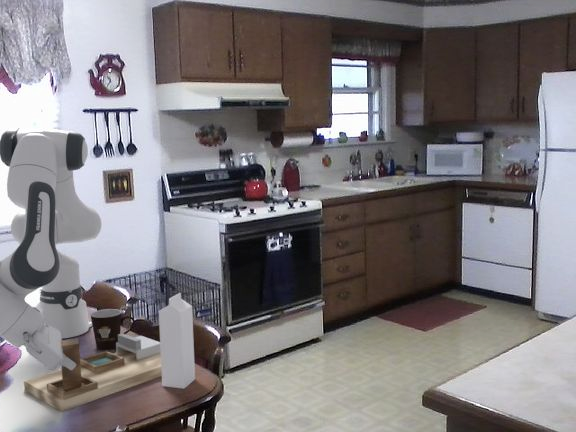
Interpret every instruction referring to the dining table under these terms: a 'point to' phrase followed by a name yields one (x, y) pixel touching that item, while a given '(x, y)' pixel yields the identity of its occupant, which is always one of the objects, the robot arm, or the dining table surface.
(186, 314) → the milk
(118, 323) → the coffee mug
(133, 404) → the dining table surface
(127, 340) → the cover
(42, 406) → the dining table surface
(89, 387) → the board
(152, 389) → the dining table surface
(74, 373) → the block
